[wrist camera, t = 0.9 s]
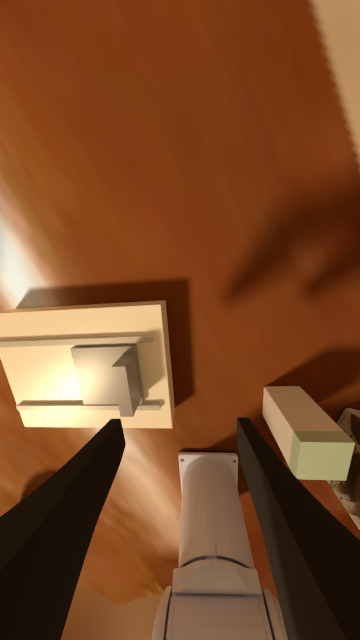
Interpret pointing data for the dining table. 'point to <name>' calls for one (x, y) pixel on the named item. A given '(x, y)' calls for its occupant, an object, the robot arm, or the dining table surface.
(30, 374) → the socket
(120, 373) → the shutter
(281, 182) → the dining table surface
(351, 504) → the coffee box
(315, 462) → the plug
